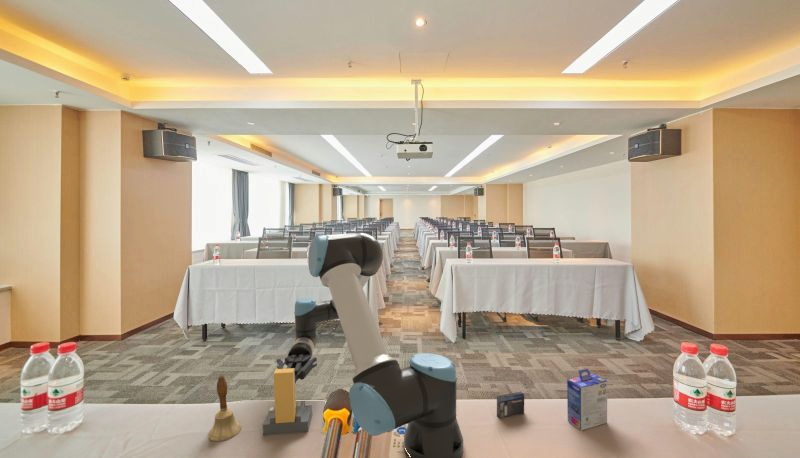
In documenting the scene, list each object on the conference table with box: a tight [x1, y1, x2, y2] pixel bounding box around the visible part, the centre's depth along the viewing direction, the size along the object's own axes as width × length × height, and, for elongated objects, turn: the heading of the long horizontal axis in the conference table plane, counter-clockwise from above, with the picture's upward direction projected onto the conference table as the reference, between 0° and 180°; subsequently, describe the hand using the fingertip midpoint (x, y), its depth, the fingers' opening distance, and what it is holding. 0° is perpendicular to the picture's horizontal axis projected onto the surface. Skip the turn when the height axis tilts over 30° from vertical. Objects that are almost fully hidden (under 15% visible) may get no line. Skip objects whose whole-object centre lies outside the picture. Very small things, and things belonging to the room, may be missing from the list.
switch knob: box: [273, 368, 297, 423], centre depth 98 cm, size 5×2×14 cm, turn 96°
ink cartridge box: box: [566, 368, 608, 431], centre depth 101 cm, size 10×6×14 cm, turn 110°
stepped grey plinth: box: [262, 400, 313, 436], centre depth 102 cm, size 12×8×4 cm, turn 96°
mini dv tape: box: [496, 391, 525, 419], centre depth 105 cm, size 8×2×6 cm, turn 106°
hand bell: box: [207, 375, 242, 442], centre depth 99 cm, size 8×8×16 cm
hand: (285, 389), depth 99 cm, fingers closed
